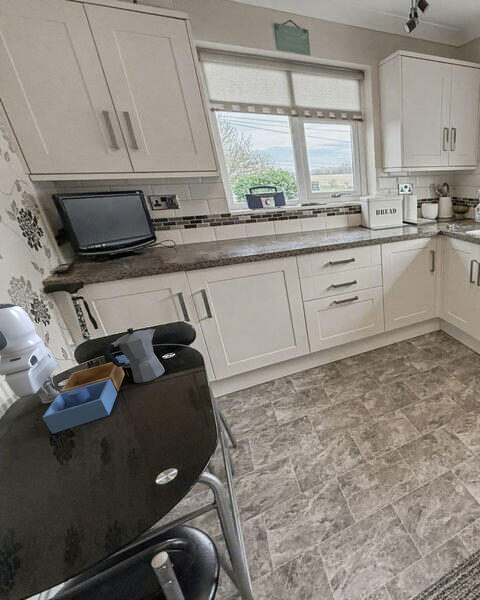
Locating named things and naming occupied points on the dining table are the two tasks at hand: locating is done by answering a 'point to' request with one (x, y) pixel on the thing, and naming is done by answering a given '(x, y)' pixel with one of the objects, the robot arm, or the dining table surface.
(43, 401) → the rook chess piece
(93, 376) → the oak bin
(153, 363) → the coffeepot
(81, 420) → the blue bin
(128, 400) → the dining table surface
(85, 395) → the blue peg
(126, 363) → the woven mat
